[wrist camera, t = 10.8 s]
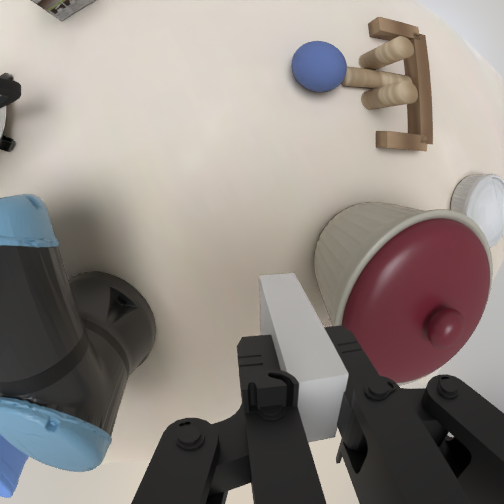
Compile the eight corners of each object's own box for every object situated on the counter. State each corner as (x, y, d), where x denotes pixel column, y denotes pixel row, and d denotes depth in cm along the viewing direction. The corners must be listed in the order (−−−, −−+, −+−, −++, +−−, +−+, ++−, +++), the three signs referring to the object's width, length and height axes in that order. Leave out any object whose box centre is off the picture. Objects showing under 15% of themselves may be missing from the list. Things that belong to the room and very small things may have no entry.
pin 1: (359, 70, 32) (395, 54, 24) (358, 53, 31) (393, 34, 23) (376, 72, 32) (415, 59, 24) (375, 55, 32) (412, 38, 23)
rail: (375, 147, 36) (387, 147, 33) (368, 23, 30) (378, 16, 27) (419, 150, 36) (432, 152, 33) (412, 34, 31) (424, 28, 28)
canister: (338, 332, 44) (400, 441, 24) (262, 243, 39) (305, 348, 19) (430, 255, 42) (529, 324, 22) (373, 153, 36) (499, 174, 16)
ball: (347, 96, 32) (297, 96, 34) (344, 50, 30) (294, 50, 32) (348, 86, 27) (288, 87, 28) (344, 33, 25) (285, 35, 26)
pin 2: (361, 108, 34) (399, 101, 26) (360, 90, 33) (397, 78, 25) (378, 110, 34) (418, 104, 26) (377, 92, 33) (417, 82, 25)
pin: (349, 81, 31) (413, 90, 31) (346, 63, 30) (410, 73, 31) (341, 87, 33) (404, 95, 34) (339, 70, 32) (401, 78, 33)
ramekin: (498, 191, 40) (519, 198, 35) (472, 249, 42) (493, 261, 38) (461, 155, 37) (485, 159, 32) (433, 221, 40) (455, 231, 35)
